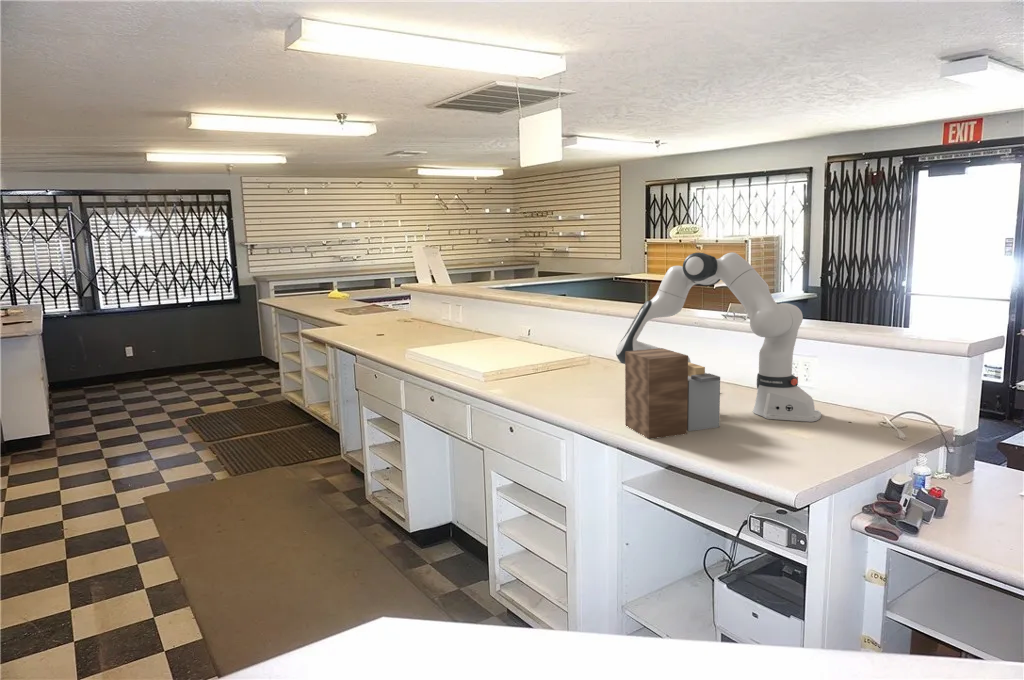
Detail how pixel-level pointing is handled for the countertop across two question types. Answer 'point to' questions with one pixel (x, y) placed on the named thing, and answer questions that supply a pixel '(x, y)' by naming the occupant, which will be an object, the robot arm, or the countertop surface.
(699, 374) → the wooden bar
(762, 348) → the robot arm
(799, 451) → the countertop surface
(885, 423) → the countertop surface
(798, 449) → the countertop surface
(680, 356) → the pedestal
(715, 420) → the step
